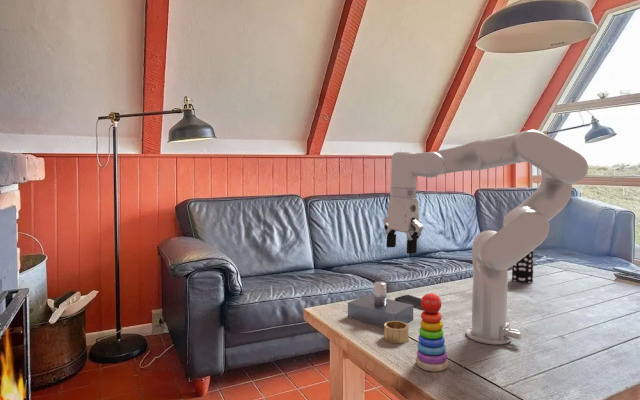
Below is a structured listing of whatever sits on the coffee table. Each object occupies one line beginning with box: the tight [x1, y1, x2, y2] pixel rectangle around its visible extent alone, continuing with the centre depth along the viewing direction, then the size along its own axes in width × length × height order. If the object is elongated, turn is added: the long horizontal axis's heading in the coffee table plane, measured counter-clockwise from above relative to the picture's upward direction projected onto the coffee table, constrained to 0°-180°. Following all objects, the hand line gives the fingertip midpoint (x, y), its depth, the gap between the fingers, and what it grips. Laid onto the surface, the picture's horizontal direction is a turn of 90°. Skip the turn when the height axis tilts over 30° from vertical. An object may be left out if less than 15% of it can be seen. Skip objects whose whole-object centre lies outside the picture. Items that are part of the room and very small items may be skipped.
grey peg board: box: [347, 281, 414, 328], centre depth 144 cm, size 18×12×12 cm, turn 48°
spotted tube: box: [511, 249, 535, 284], centre depth 189 cm, size 8×8×20 cm
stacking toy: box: [415, 292, 449, 372], centre depth 110 cm, size 8×8×19 cm
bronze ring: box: [383, 321, 410, 344], centre depth 127 cm, size 7×7×4 cm
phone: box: [394, 294, 424, 311], centre depth 160 cm, size 8×1×15 cm
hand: (400, 250), depth 131 cm, fingers open, 9 cm apart
